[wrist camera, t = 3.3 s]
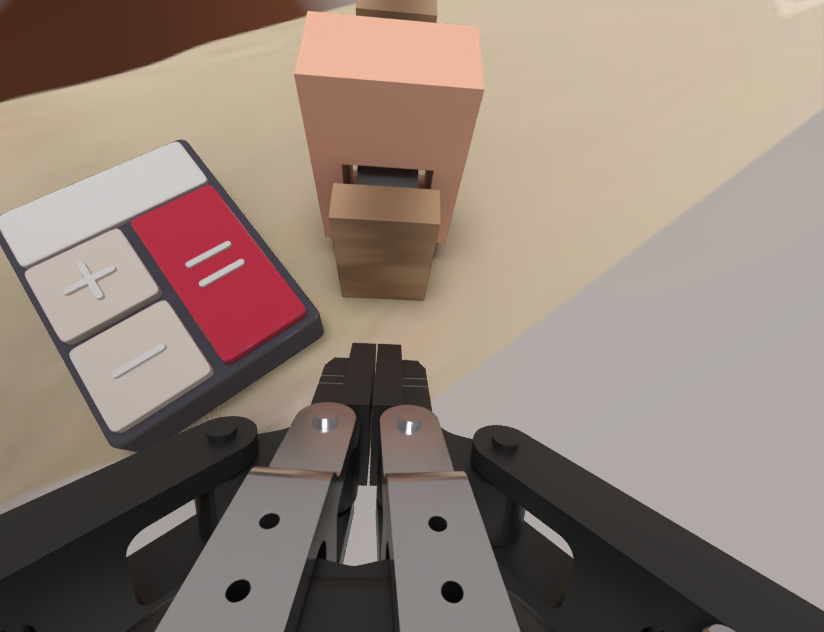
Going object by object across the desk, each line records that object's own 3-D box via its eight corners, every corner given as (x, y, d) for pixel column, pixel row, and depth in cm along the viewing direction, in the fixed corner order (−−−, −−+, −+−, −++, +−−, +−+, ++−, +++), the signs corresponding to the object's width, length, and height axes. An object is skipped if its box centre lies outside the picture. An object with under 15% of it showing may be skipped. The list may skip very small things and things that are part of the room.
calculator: (101, 451, 17) (-28, 210, 21) (150, 458, 21) (34, 254, 25) (321, 310, 21) (178, 125, 24) (328, 339, 25) (204, 176, 28)
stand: (342, 296, 25) (328, 217, 18) (362, 97, 32) (358, -11, 26) (423, 300, 25) (440, 224, 18) (424, 102, 33) (436, -3, 26)
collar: (325, 236, 24) (293, 73, 15) (332, 185, 26) (307, 11, 17) (444, 243, 25) (484, 89, 16) (443, 192, 26) (478, 27, 17)
